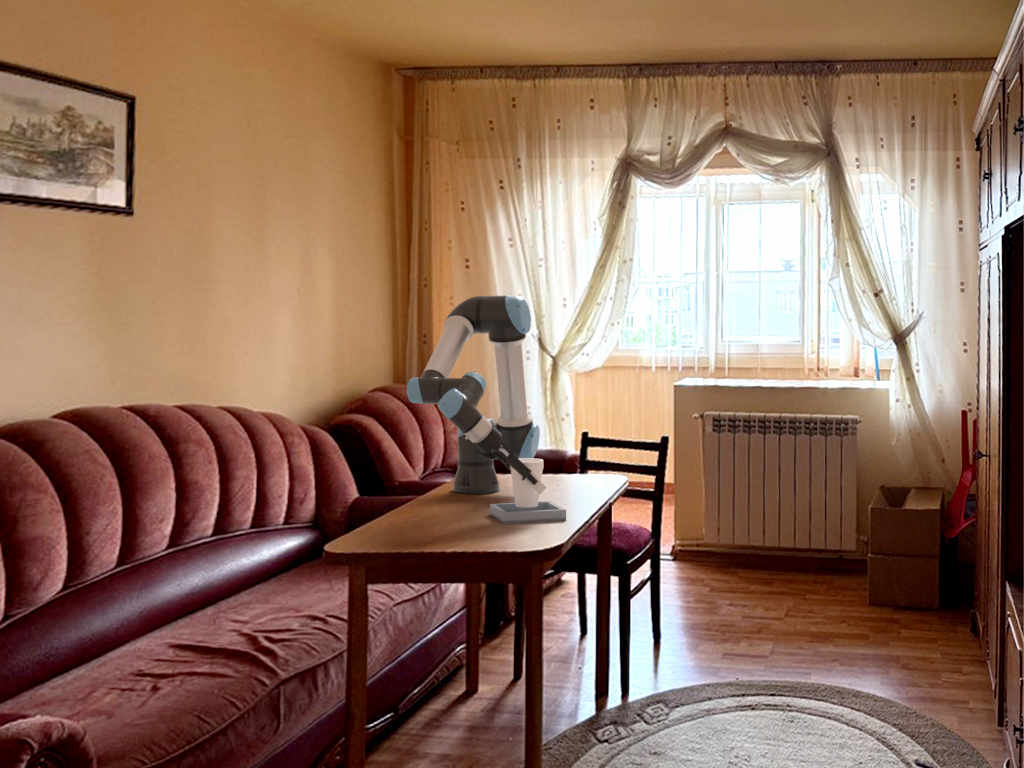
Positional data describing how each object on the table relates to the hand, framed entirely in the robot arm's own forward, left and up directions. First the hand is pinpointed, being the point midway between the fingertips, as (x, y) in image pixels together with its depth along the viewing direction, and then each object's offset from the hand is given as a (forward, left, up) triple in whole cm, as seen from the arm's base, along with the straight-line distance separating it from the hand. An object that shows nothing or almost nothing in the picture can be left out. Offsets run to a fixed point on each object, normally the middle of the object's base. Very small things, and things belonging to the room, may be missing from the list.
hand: (537, 488), depth 323 cm
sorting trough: (0, -3, -8) cm, 9 cm away
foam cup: (0, -3, -5) cm, 6 cm away
